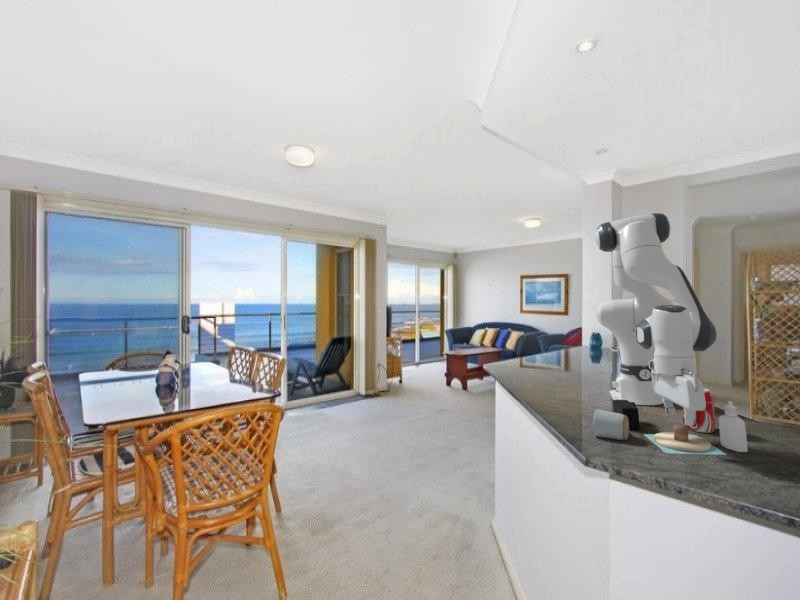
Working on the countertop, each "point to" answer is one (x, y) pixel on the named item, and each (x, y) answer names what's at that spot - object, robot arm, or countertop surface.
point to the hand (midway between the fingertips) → (679, 419)
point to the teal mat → (670, 451)
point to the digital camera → (627, 412)
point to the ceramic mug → (610, 425)
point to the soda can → (704, 416)
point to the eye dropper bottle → (732, 430)
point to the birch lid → (682, 440)
